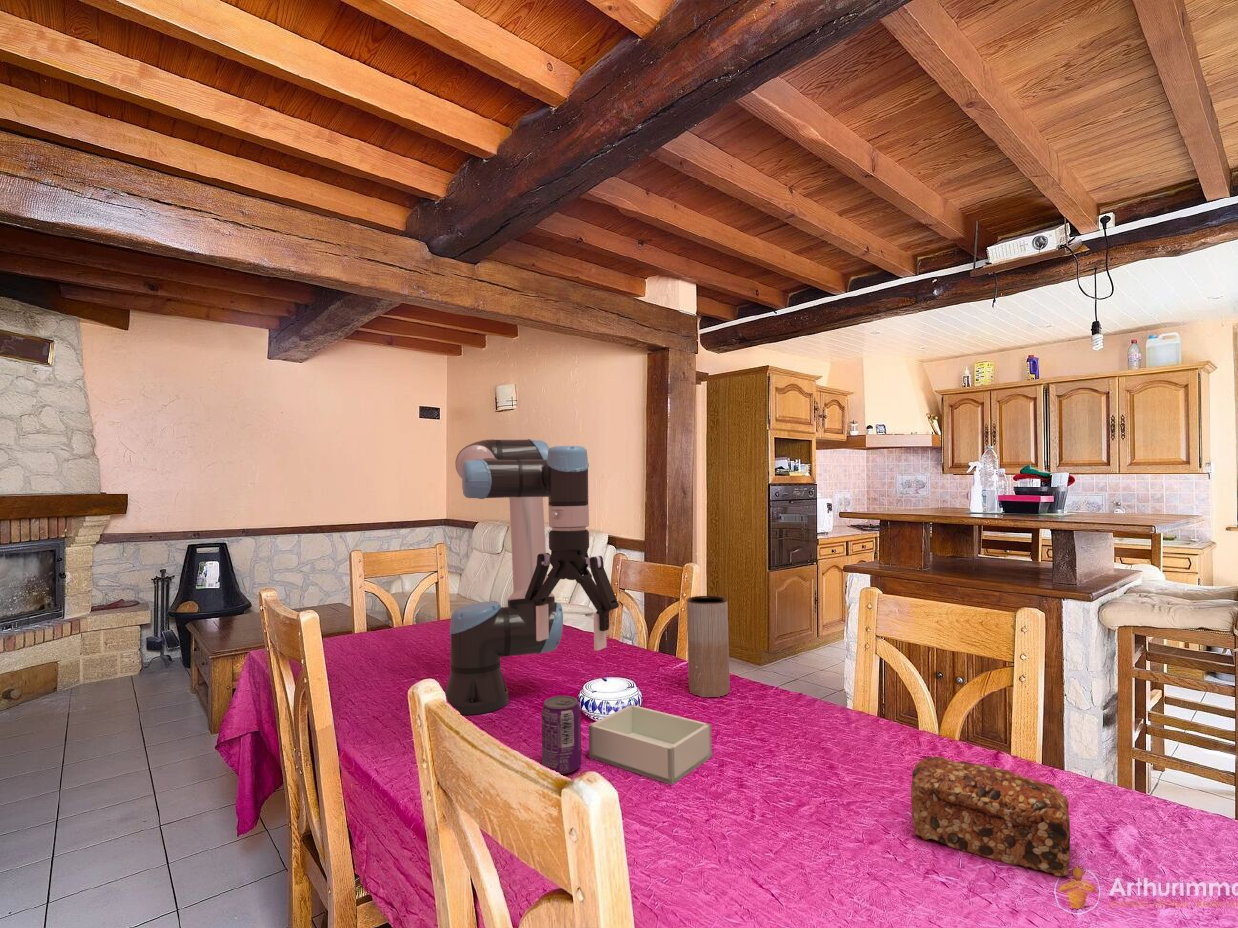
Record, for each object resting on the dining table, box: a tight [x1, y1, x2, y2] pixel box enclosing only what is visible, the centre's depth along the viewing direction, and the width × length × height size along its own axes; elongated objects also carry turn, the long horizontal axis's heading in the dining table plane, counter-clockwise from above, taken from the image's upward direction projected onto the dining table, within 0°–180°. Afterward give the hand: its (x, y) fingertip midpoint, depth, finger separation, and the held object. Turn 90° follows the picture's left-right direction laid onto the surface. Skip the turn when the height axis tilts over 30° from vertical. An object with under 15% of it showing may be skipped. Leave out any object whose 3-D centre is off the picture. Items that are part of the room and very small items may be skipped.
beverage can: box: [541, 695, 582, 775], centre depth 113 cm, size 7×7×12 cm
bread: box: [910, 756, 1071, 877], centre depth 87 cm, size 19×11×10 cm, turn 56°
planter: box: [686, 595, 731, 698], centre depth 153 cm, size 10×10×23 cm
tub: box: [588, 704, 713, 786], centre depth 117 cm, size 19×14×6 cm
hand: (570, 644), depth 115 cm, fingers open, 13 cm apart
